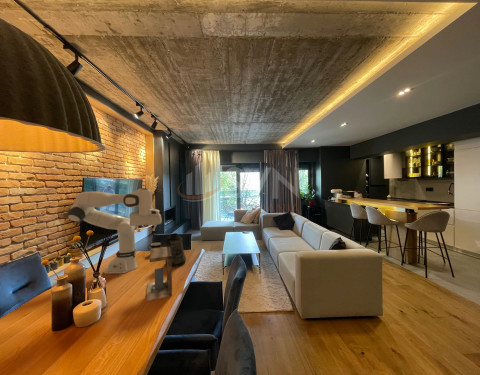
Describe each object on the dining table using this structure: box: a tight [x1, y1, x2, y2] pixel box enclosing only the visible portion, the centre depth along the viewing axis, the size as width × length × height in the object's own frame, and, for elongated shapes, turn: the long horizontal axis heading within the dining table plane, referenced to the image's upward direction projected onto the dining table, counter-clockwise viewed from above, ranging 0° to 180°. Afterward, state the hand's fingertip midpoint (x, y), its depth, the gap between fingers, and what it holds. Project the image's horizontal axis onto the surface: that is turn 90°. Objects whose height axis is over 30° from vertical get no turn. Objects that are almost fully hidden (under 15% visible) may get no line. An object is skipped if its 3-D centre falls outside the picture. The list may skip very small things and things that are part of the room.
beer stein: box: [161, 232, 187, 268], centre depth 169 cm, size 16×19×25 cm
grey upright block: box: [154, 267, 164, 290], centre depth 127 cm, size 5×5×12 cm
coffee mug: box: [147, 242, 162, 251], centre depth 193 cm, size 12×9×10 cm
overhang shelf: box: [145, 246, 173, 302], centre depth 127 cm, size 14×20×24 cm
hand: (146, 231), depth 139 cm, fingers open, 8 cm apart
